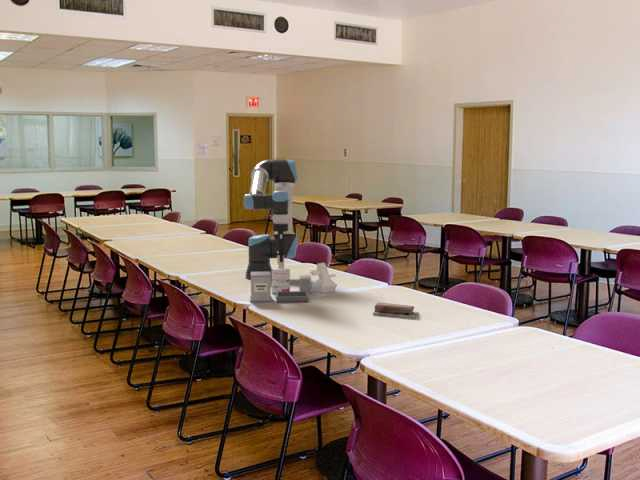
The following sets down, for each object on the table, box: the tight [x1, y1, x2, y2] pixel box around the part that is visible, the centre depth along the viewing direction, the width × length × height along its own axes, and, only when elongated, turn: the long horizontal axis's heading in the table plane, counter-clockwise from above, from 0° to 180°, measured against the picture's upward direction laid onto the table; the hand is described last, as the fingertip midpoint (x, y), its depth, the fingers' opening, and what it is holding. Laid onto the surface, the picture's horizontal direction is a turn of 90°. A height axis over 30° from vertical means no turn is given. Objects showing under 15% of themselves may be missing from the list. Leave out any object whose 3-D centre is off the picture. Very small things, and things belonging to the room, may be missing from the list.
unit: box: [249, 272, 273, 303], centre depth 307 cm, size 10×10×13 cm
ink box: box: [271, 267, 291, 294], centre depth 323 cm, size 9×5×12 cm, turn 84°
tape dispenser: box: [310, 262, 338, 294], centre depth 327 cm, size 8×14×14 cm, turn 125°
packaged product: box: [372, 302, 420, 320], centre depth 281 cm, size 18×5×10 cm
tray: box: [275, 290, 309, 303], centre depth 309 cm, size 12×15×2 cm
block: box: [299, 274, 312, 294], centre depth 324 cm, size 5×5×8 cm
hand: (280, 266), depth 321 cm, fingers open, 13 cm apart
